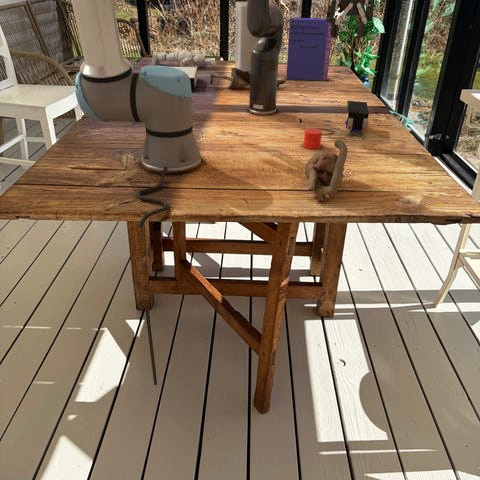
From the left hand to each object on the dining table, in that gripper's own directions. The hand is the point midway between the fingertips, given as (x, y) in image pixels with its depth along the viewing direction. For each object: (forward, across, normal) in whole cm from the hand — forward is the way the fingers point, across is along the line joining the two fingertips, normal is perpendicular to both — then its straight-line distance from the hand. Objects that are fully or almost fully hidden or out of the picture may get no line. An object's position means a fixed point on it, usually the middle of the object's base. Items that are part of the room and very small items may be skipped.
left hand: (148, 0), depth 141 cm
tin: (+34, -42, -36) cm, 65 cm away
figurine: (+34, +26, -42) cm, 60 cm away
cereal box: (+34, +34, -72) cm, 87 cm away
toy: (+34, +73, -28) cm, 86 cm away
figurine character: (+34, -34, -55) cm, 73 cm away
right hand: (+9, -24, -54) cm, 60 cm away
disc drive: (+34, +40, -15) cm, 55 cm away
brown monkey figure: (+34, -69, -24) cm, 81 cm away
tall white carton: (+34, +53, -55) cm, 84 cm away
